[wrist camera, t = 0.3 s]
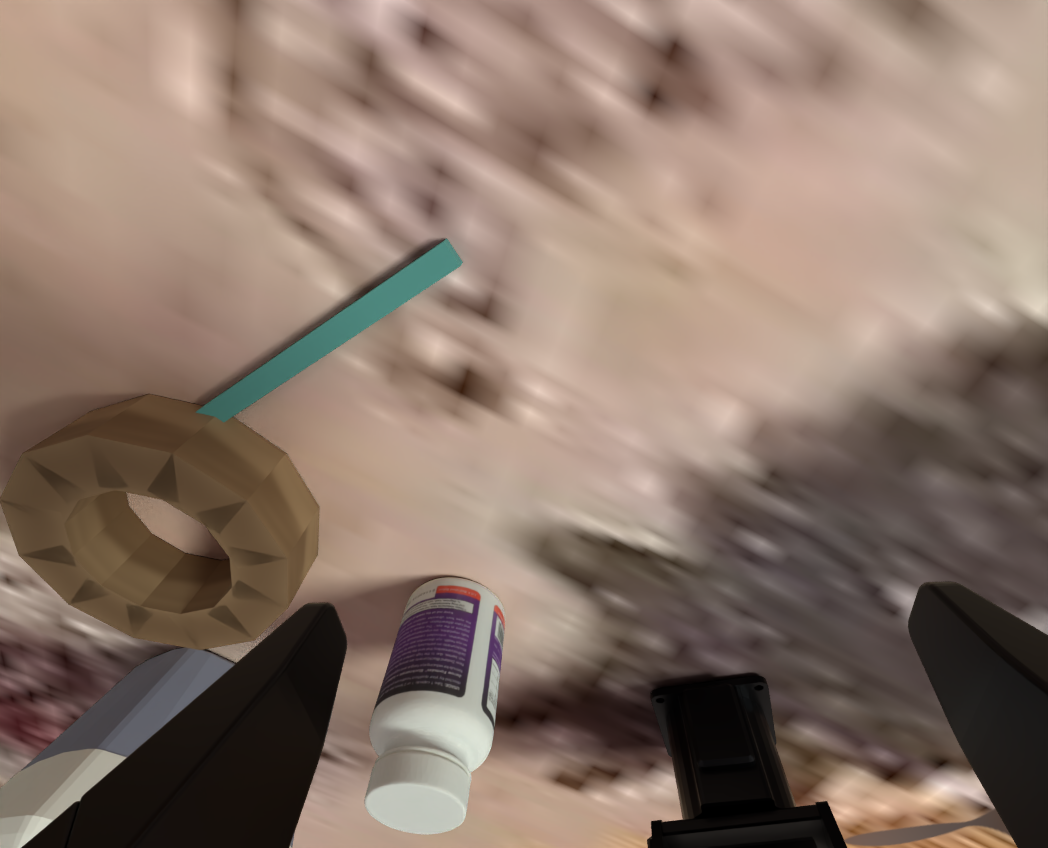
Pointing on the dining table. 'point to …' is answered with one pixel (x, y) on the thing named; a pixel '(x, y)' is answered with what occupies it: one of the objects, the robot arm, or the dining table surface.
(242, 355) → the dining table surface
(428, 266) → the teal stick
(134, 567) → the brown faceted ring
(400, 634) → the pill bottle
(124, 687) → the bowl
